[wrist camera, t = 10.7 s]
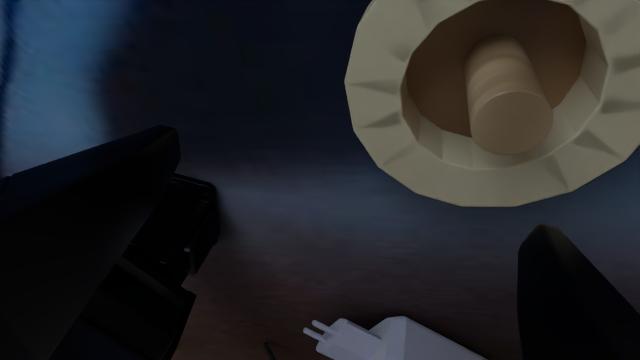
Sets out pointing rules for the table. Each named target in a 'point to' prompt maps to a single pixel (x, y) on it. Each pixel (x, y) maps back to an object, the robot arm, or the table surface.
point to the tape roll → (463, 152)
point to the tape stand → (498, 71)
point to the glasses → (269, 351)
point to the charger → (387, 342)
